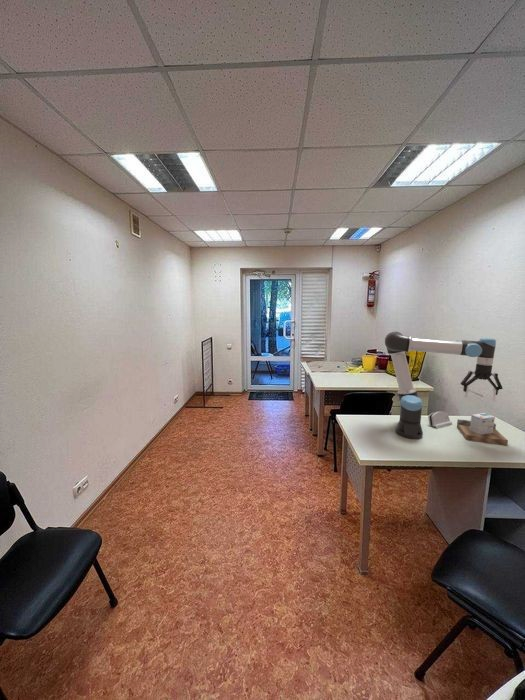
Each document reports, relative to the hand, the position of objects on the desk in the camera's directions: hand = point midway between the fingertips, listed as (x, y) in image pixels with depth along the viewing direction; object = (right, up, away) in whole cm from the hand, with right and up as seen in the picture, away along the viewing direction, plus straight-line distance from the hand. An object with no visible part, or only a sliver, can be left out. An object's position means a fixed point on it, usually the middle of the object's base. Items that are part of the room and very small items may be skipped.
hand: (479, 398), depth 165 cm
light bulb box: (+3, -21, +2) cm, 22 cm away
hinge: (-11, -22, +20) cm, 32 cm away
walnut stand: (+4, -24, +4) cm, 25 cm away
